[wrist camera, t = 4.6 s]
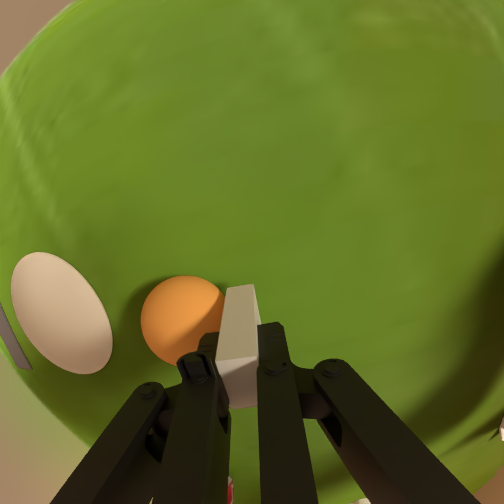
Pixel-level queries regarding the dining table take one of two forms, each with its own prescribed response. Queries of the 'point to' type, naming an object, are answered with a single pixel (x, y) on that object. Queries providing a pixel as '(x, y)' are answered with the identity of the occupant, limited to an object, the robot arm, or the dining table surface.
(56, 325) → the disc
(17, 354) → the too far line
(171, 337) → the ball
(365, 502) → the white brass knuckles
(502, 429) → the tablet stand
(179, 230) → the dining table surface
